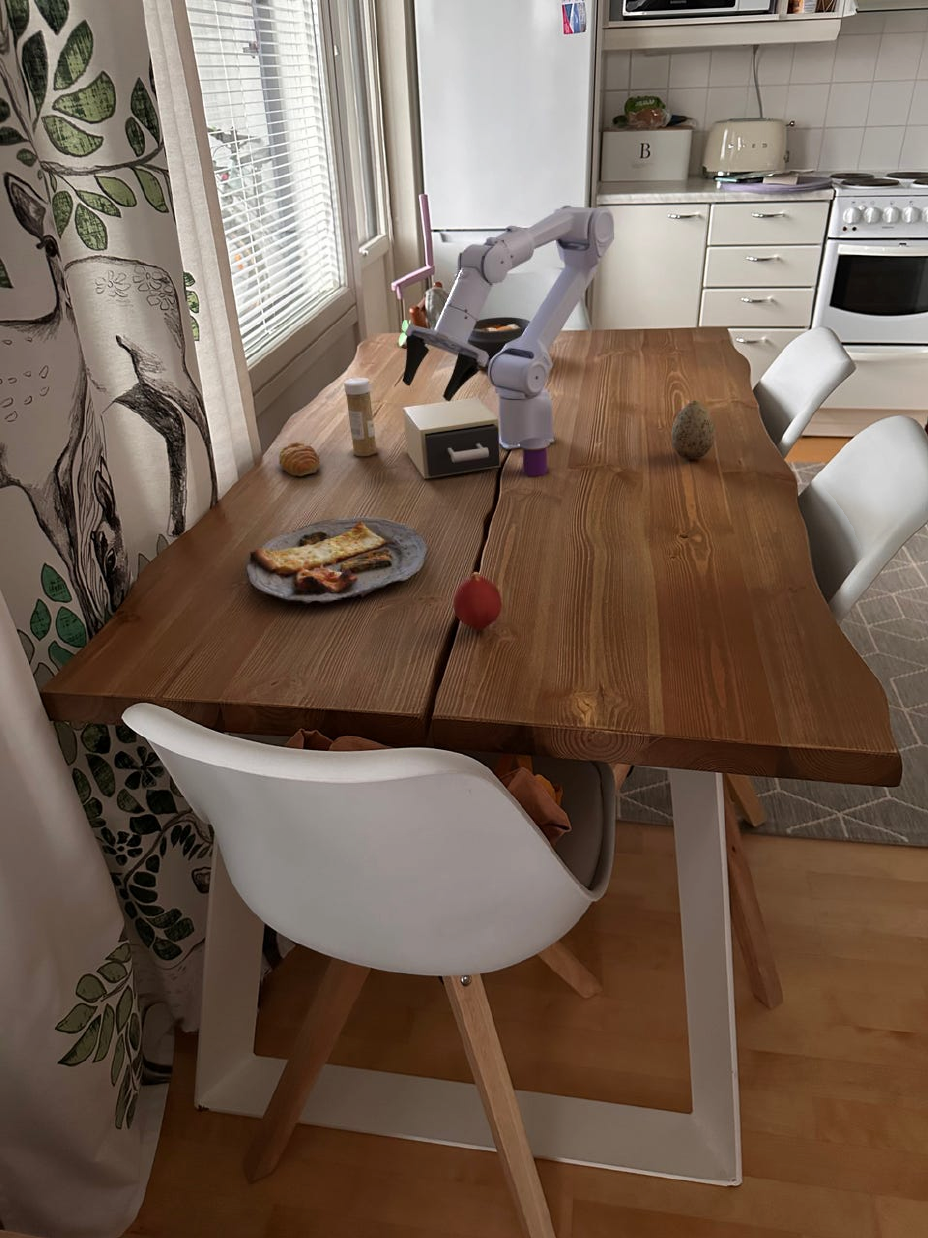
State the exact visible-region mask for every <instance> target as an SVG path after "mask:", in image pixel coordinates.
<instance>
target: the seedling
mask: <svg viewBox="0 0 928 1238" xmlns="http://www.w3.org/2000/svg"><path fill="white" fill-rule="evenodd" d="M409 324H411V320H409V322H408V320H407V319H404V320H403V321H402V326H401V330H402V331H403V332H402V333H400V335H399V338H398V344H399V347H401V346H403V344H404V343H405V342H406V337H407V336H406V335H405V332H406V330H407V327H408V325H409Z"/></svg>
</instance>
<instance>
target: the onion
mask: <svg viewBox="0 0 928 1238" xmlns="http://www.w3.org/2000/svg"><path fill="white" fill-rule="evenodd" d="M452 603H453V604H452V605H453V609H454V613H455V616H456V618H457V619H458V620H459V621H460V622H461V623H462V624H464V625H465V626H467V627H469V628H470V629H471V628H472V629H473V631H475V632H482V631H484V630H485V629H486V628H487V627H490V625H491V624H493V623H494V622H495V621H497V619H498V617H499V615H500V614H501V612H502V606H503V603H502V597H501V593H500V590H499V589H498V588H497V586H496V585H495V584H494V583H493V582H491V581H490V580H489V579H488V578H486V577H484V576H482V575H481V574H480V573H479V572H478V571H474V572H473V573H472V574H471V575H470V577H468V578H466V579H465V580H464V581H462V582H461V583H460V585H459V586H458V587H457V589H456V591H455V593H454V595H453V602H452Z"/></svg>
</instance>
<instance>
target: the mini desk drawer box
mask: <svg viewBox="0 0 928 1238" xmlns="http://www.w3.org/2000/svg"><path fill="white" fill-rule="evenodd" d="M402 409H403V410H402V411H403V421H404V430H405V432H404V433H405V441H406V452H407V455H408V457H409V458H410V459H411V461H412V462H413V464H414V465H415V467H416V469H417V470H418V472H419V473H420V474H421V476H422V477H423V479H432V478H439V477H445V476H453V475H458V474H463V473H465V474H466V473H470V472H471V473H472V472H477V471H483V470H489V469H490V470H491V469H495V468H500V467H501V465H500V466H495V467H488V468H482V469H475V470H469V471H463V472H456V473H450V474H443V475H437V476H431V477H430V476H429V475H428V467H427V455H426V443H425V434H429V433H435V432H442V431H449V430H456V429H463V428H469V427H476V426H483V425H490V426H497V427H498V436H499V434H500V425H499V417H497V416H496V415H495V414H494V413H493V412H492V411H491V410H490V409H489V408H488V407H487V406H486V405H485V404H484V403H483V402H481V400H479V399H478V397H470V398H463V399H456V400H450V402H449V401H441V402H435V403H434V402H433V403H427V404H420V405H412V406H406V407H403V408H402ZM500 447H501V445H499V459H500V460H501V451H500V450H501V449H500Z"/></svg>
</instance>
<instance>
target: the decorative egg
mask: <svg viewBox="0 0 928 1238" xmlns="http://www.w3.org/2000/svg"><path fill="white" fill-rule="evenodd" d="M711 415H712V414H710V412H709V411H708V409H707V408H706V406H705V405H704V404H702V403H701V401H698V400H692V401H690V402H688V403H687V404H686V405H685V406H684V407H683V408H681V410H680V411H679V412H678V414H677V415H676V417H675V419H674V422H673V424H672V427H671V433H670V437H671V438H670V439H671V440H670V441H671V444H672V447H673V449H674V451H675V453H676V454H677V455H678V456H680V457H681V458H683V459H686V460H697V459H700V458H702V457H704V456H705V455H707V453H708V452H709V451H710V450H711V448H712V447H713V444H714V441H715V437H716V436H715V435H716V428H715V423H714V420H713V417H712V416H711Z"/></svg>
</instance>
